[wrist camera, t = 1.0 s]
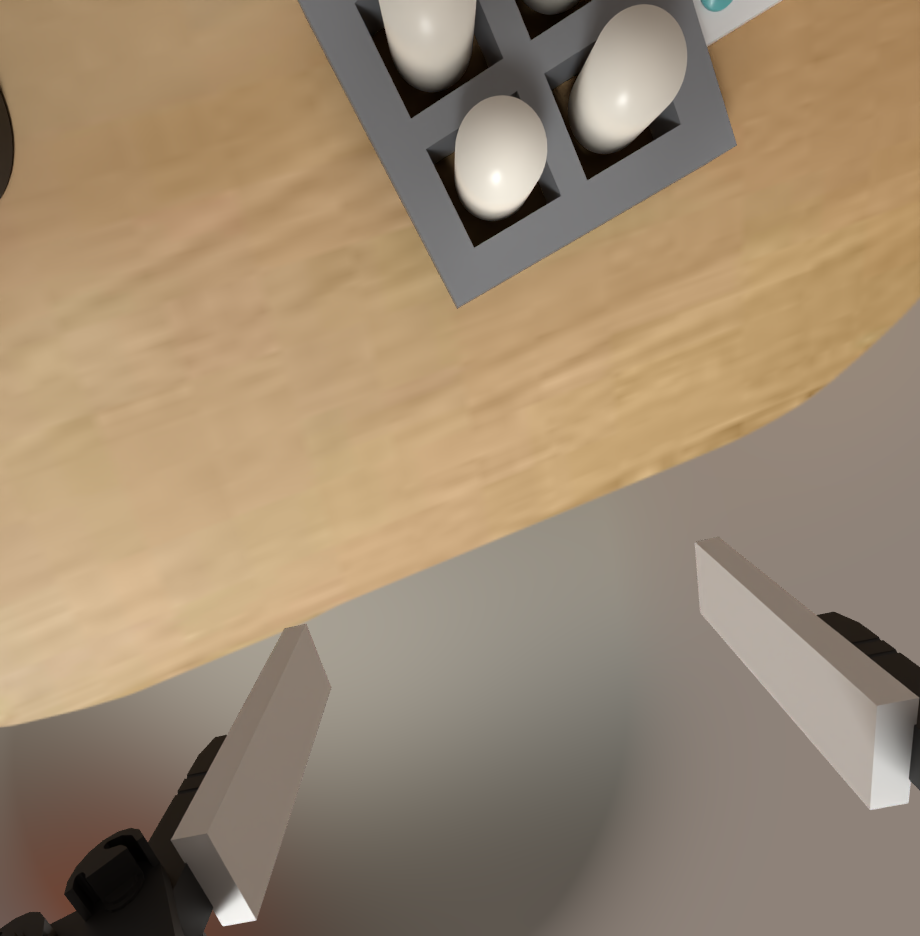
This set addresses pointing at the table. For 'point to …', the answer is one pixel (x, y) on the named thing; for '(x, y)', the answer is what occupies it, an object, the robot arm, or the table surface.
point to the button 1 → (430, 40)
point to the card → (727, 15)
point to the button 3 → (627, 78)
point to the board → (531, 80)
